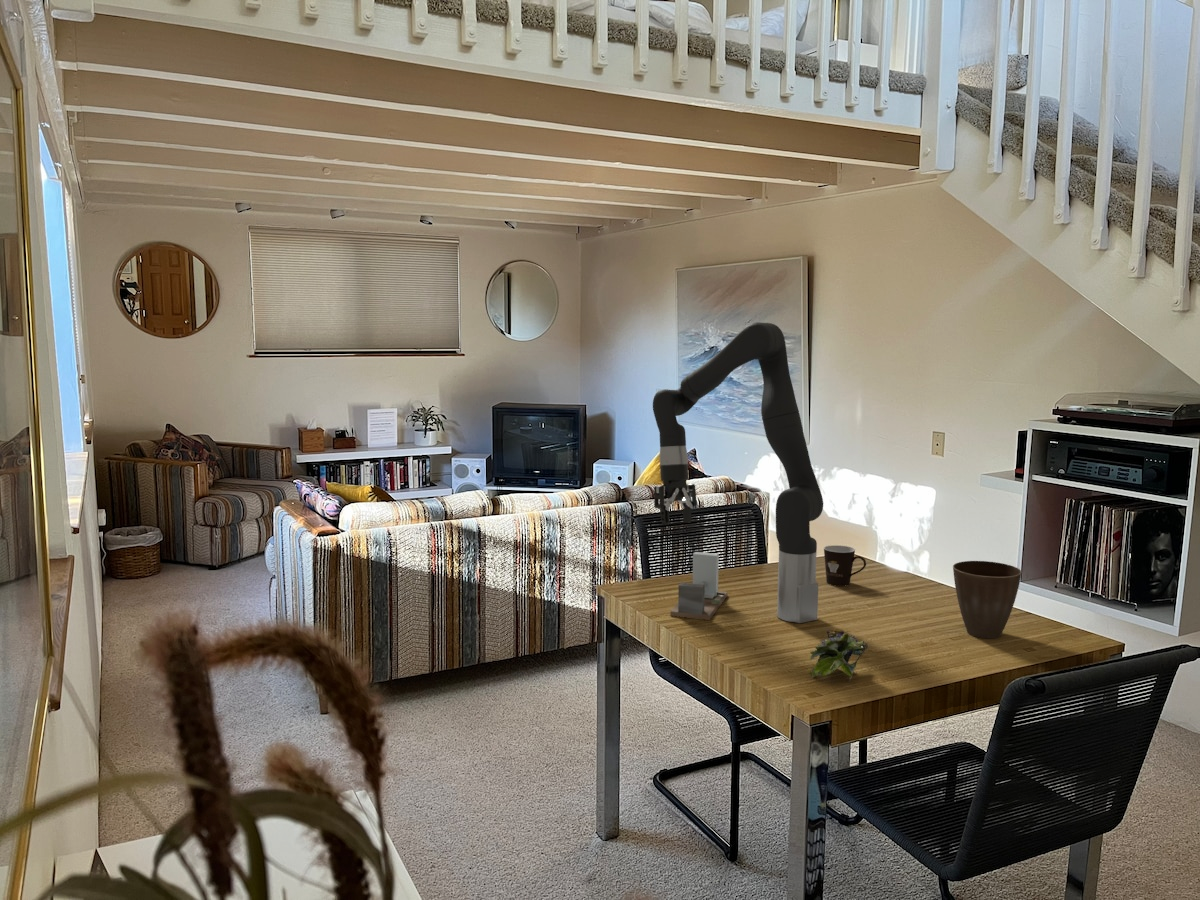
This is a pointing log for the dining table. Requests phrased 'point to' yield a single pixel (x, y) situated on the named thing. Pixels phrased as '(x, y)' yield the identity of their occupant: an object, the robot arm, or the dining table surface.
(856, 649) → the passion flower
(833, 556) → the coffee mug
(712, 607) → the board
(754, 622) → the dining table surface
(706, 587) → the panel
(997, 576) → the plant pot
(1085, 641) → the dining table surface
